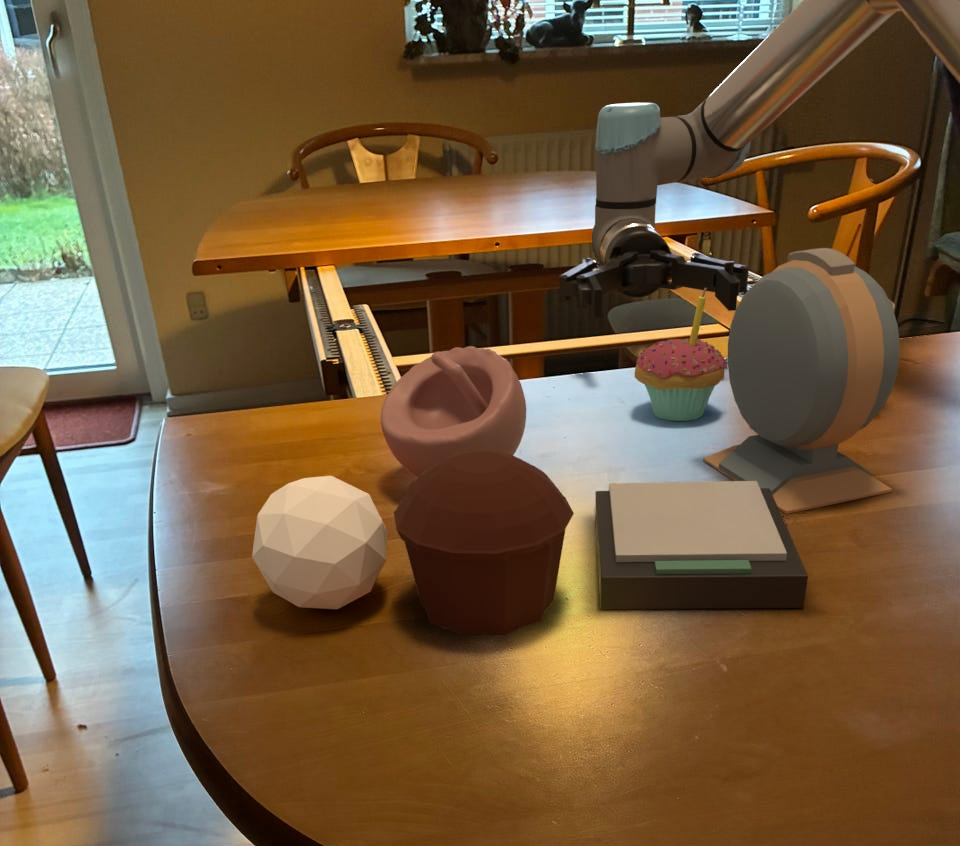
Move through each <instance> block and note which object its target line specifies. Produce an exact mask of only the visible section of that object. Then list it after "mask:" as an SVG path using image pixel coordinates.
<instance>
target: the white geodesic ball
mask: <svg viewBox="0 0 960 846" xmlns="http://www.w3.org/2000/svg"><path fill="white" fill-rule="evenodd" d="M255 523H256V524H255V531H254V538H253V545H252V553H251V558H252V560H253V561H254V563H255V565H256V566H257V568H258V570H259V572H260V573H261V575H262V577H263V578H264V580H265V581H266V582H265V583H266V584H267V585H268V586H269V588H270V591H271V592H272V593H273V594H275V595H277V596H279V597H281V598H282V599H284V600H286V601H287V602H289V603H291V604H293V605H294V606H296V607H298V608H307V609H308V608H309V609H326V610H339V609H341V608H342V607H345V606H346V605H348V604H350V603H352V602H354V601H355V600H358V599H359V598H361V597H363V596H365V595H367V594H369V593H370V592H371V591H372V589H373V587H374V585H375V583H376V581H377V579H378V577H379V575H380V573H381V571H382V569H383V567H384V565H385V563H386V561H387V548H388V547H387V545H388V528H387V527H386V525H385V522H384V520H383V519H382V517H381V515H380V513H379V511H378V509H377V507H376V505H375V503H374V501H373V499H372V497H371V495H370V493H368V492H366V491H363V490H361V489H360V488H358V487H356V486H354V485H351V484H349V483H347V482H345V481H343V480H341V479H339V478H337V477H335V476H333V475H323V476H313V477H303V478H300V479H298V480H297V479H296V480H295V481H292V482H291V481H290V482H288V483H286V484H285V485H284V486H282V487H280V488H278V489H277V490H275V491H274V492H272V493H271V494H270V495H269V497H268V499H267V500H266V501H265V503H264V504H263V505H262V507H261V508H260V510H259V512H258V513H257V516H256V522H255Z"/></svg>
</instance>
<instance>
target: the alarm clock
mask: <svg viewBox="0 0 960 846" xmlns="http://www.w3.org/2000/svg"><path fill="white" fill-rule="evenodd" d="M889 300H890V299H889V298H888V296H887V294H886V292H885V290H884V288H883V287H882V286H881V285H880V284H879V283H878V282H877V281H876V279H875V278H873V277H872V275H870V274H869V273H867V272H866V271H864V270H863V269H862V268H859V267H857V266H856V263H855V262H854V261H853V260H852V259H851V258H849V257H848V256H847V255H846V254H844V253H842V252H841V251H839V250H836V249H834V248H831V247H829V248H828V247H819V248H810V249H803V250H797V251H796V250H795V251H792V252H790V253H789V254H788V255H787V261H786V262H784V263H781V264H780V265H778V266H777V267H776V268H775V269H774V270H772V272H769V273H767V274H764V275H763V276H761V277H760V278H759V279H758V280H757V281H756V282H755V283H754V284H753V285H752V286H751V287H750V288H749V289H747V291H745V292H744V294H743V296H742V297H741V299H740V301H739V303H737V305H736V310H735V311H734V314H733V317H732V320H731V323H730V325H729V326H730V327H729V334H728V339H727V340H728V341H727V363H728V364H727V369H728V371H727V372H728V379H729V385H730V388H731V392H732V396H733V398H734V402H735V404H736V406H737V408H738V411H739V413H740V415H741V418H743V420H744V421H745V422H746V424H747V425H748V427H749V429H751V430H752V431H753V432H754V433H756V435H750V436H748V437H747V438H746V439H744V440H743V441H742V442H741V443H740V444H735V445H732V446H730V447H728V448H725V449H723V450H719V451H718V452H715V453H713V454H710V455H708V456H706V457H703V458H702V461H703V462H704V463H705V464H708V465H709V466H710V467H712V468H713V469H715V470H717V471H718V472H719V473H721V474H723V475H725V476H726V477H727V478H729V479H730V480H731V481H757V483H758V485H759V487H760V488H770V490H771V493H772V495H773V497H774V500H775V502H776V504H777V506H778V509H779V511H780V512H782V513H783V514H785V515H788V514H793V513H799V512H803V511H807V510H813V509H816V508H822V507H827V506H831V505H836V504H840V503H841V504H842V503H845V502H850V501H855V500H859V499H863V498H869V497H873V496H878V495H883V494H888V493H892V491H893V488H891V487H890V486H888V485H887V484H885V483H883V482H882V481H880V480H878V479H877V478H875V477H874V476H873V473H872V472H870V471H869V470H868V469H866V468H864V467H863V466H862V465H860V464H858V463H857V462H856V461H854V460H853V459H851V458H850V457H849V456H848V455H845V454H843V453H842V452H839V451H838V450H839V445H840V444H842V443H843V442H845V441H847V440H849V439H851V438H852V437H854V436H855V434H857V433H858V432H859V431H860V430H861V431H862V430H863V429H864V428H866V427H867V426H868V425H870V423H871V422H872V421H873V419H874V418H875V417H876V416H877V415H878V414H879V413H880V412H881V410H882V409H883V408H884V407H885V405H886V404H887V401H888V399H889V397H890V395H891V393H892V392H893V389H894V386H895V382H896V378H897V375H898V371H899V363H900V352H901V351H900V350H901V344H900V333H899V325H898V322H897V318H896V314H895V310H894V311H893V308H892V305H891V303H890V301H889Z"/></svg>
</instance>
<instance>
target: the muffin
mask: <svg viewBox="0 0 960 846" xmlns="http://www.w3.org/2000/svg"><path fill="white" fill-rule="evenodd" d="M574 514H575V512H574V511H573V509H572V506H571V505H570V503H569V501H568V500H567V498H566V496H565V495H563V493H562V492H561V490H560V489H559V488H558V487H557V486H556V485H555V482H553V480H552V479H551V478H550V477H549V476H548V475H547V473H545V472H544V471H543V470H541V469H540V468H538V467H536V466H535V465H533V464H531V463H529V462H528V461H525V460H523V459H522V458H519V457H517V456H515V455H511V454H508V453H503V452H498V451H492V450H473V451H467V452H461V453H455V454H453V455H451V456H448V457H446V458H444V459H442V460H440V461H438V462H436V463H434V464H432V465H431V466H429V467H428V468H426V469H425V470H424V471H423V472H422V473H421V474H420V475H419V476H418V477H416V478H415V479H414V481H413V482H412V483H411V484H410V486H409V487H408V489H407V490H406V491H405V492H404V494H403V496H402V498H401V500H400V501H399V503H398V505H397V507H396V508H395V510H394V511H393V517H394V524H395V530H396V532H397V533H398V536H399V537H400V539H401V540H402V541H403V542H404V544H405V545H404V546H405V548H406V552H407V556H408V559H409V563H410V567H411V571H412V574H413V578H414V582H415V586H416V589H417V592H418V598H419V600H420V604H421V605H422V607H423V609H424V610H425V612H426V614H427V618H428V623H429V624H431V625H435V626H437V627H440V628H445V629H447V630H449V631H451V632H453V633H456V634H457V635H460V636H461V637H462V636H480V635H488V636H489V635H492V636H507V635H508V634H509V635H510V634H511V633H513V632H515V631H517V630H519V629H521V628H524V627H528V626H531V625H534V624H537V623H541V621H542V619H543V617H544V615H545V613H546V611H547V610H548V609H549V608H550V606H551V605H552V604H553V603H554V601H555V596H556V595H555V593H556V590H557V589H556V588H557V584H558V578H559V570H560V565H561V558H562V553H563V546H564V541H565V534H566V529H567V527H568V525H569V524H570V522H571V520H572V518H573V516H574Z"/></svg>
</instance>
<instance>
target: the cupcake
mask: <svg viewBox="0 0 960 846" xmlns="http://www.w3.org/2000/svg"><path fill="white" fill-rule="evenodd" d="M706 289H707V288H705V289H704V290H702V294H701V295H699V296H698V299H697V303H696V308H695V313H694V317H693V322H692V327H691V331H690V336H689V338H687V337H685V338H680V337H678V338H670V339H662V340H661V341H656V342H655V343H653V344H651V345H649V347H647V348H646V349H643V351H642V352H639V354H640V355H639V356H638V358H637V359H636V365H635V367H634V378H635V380H637V381H638V383H639V382H640V384H643V385H644V386H645V388H646V391H647V393H648V397H649V399H650V403H651V408H652V411H653V414H654V416H656V417H657V418H658V419H662V420H666V421H671V422H688V421H694V420H697V419H698V418H701V417H702V416H703V415H704V413H705V410H706V407H707V404H708V403H709V400H710V397H711V395H712V393H713V391H714V389H715V387H716V386H717V385H719V384H720V382H721V381H723V380H724V379H725V374H726V373H725V372H726V371H725V370H726V369H728V361H727V359H725V357H724V356H723V355H722V352H721V351H720V350H719V349H716V347H715V346H714V345H712V344H709V343H708V341H705V342H704V341H703V340H701V339H700V338H698V336H699V332H700V327H701V324H702V323H701V322H702V318H703V314H704V308H705V304H706V300H707V298H706V296H705V295H706V292H707V291H706Z"/></svg>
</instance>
